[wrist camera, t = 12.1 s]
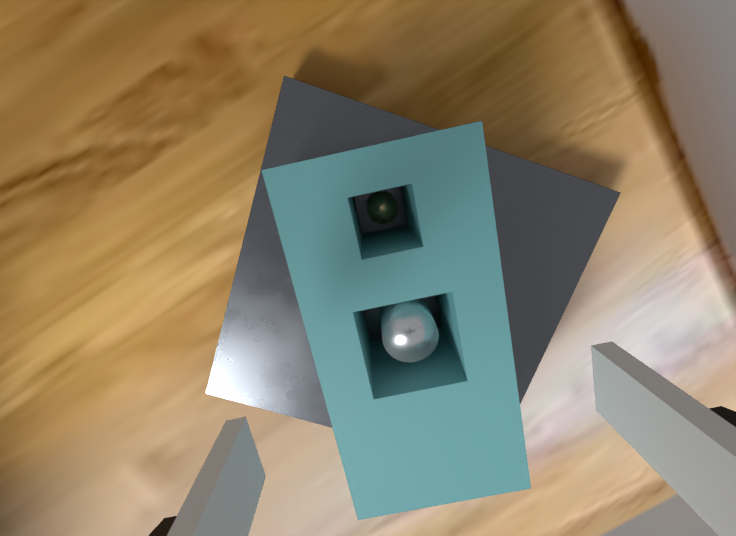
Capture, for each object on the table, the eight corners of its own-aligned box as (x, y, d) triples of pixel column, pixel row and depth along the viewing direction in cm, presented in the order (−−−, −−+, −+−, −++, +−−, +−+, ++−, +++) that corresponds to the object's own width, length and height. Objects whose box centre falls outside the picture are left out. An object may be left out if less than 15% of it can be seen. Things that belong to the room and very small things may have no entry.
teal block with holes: (492, 412, 29) (531, 488, 22) (359, 438, 30) (358, 519, 23) (448, 132, 24) (482, 120, 17) (289, 168, 25) (261, 170, 18)
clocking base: (481, 451, 32) (518, 541, 25) (215, 378, 30) (165, 452, 23) (602, 190, 27) (697, 201, 19) (290, 82, 25) (257, 46, 17)
